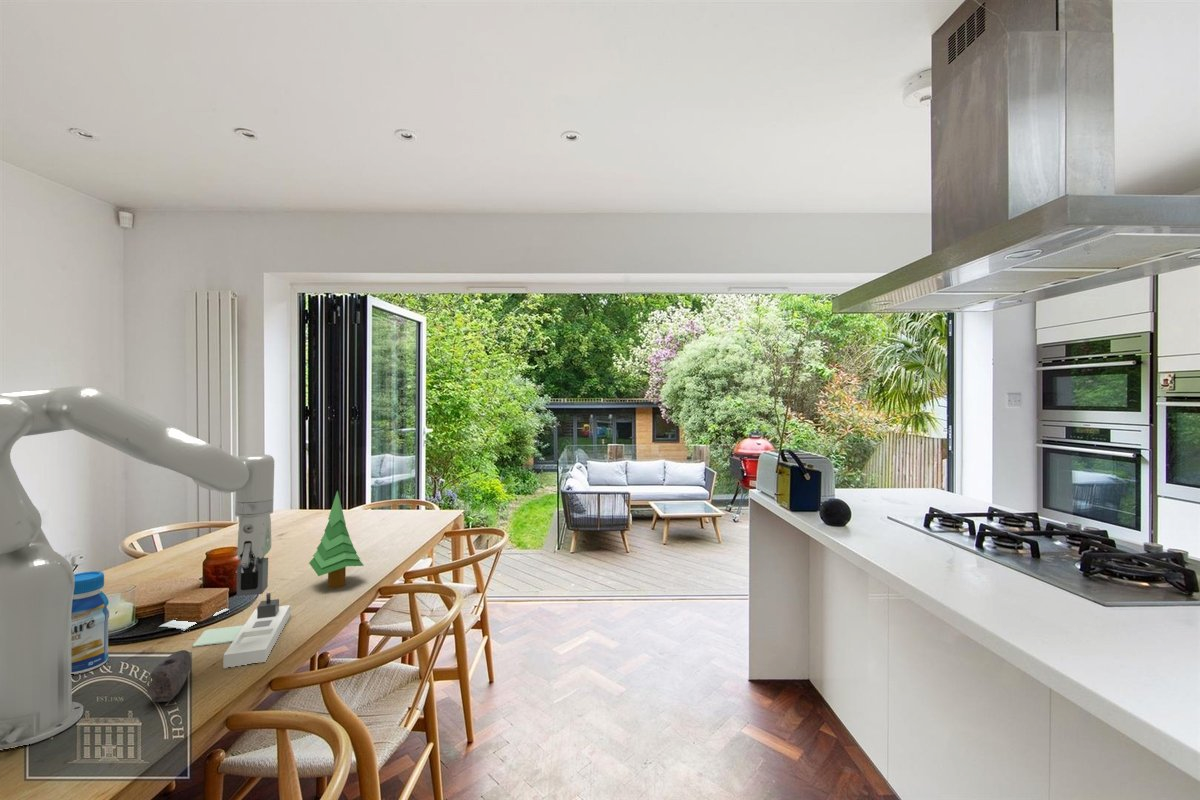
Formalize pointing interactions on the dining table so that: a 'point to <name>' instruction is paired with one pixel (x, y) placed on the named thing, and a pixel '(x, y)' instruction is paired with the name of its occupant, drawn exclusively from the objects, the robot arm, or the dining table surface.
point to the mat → (218, 636)
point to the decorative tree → (335, 549)
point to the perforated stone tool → (169, 676)
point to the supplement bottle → (89, 623)
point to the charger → (262, 578)
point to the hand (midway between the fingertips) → (252, 584)
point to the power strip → (258, 634)
